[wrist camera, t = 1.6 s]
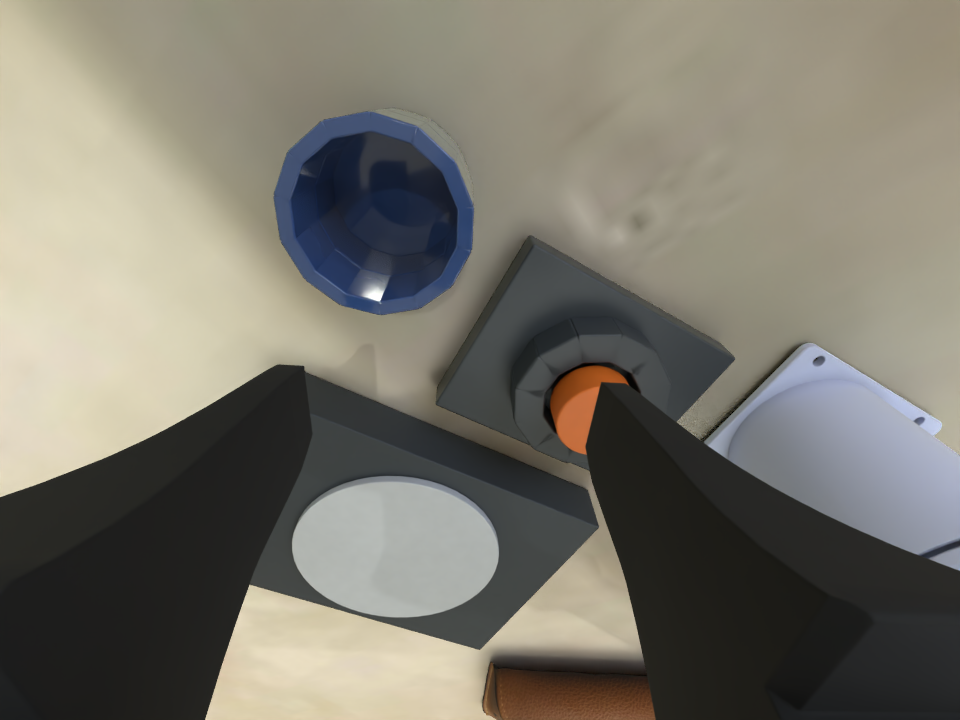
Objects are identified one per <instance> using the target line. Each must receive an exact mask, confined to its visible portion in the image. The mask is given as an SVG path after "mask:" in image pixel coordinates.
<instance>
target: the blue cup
mask: <svg viewBox="0 0 960 720" xmlns="http://www.w3.org/2000/svg"><path fill="white" fill-rule="evenodd" d="M273 198H274V204H275V211H276V217H277V223H278V230H279V236H280V240H281V243H282V245H283V246H284V248H285V249H286V251H287V253H288V254H289V256H290V257H291V259H292V260H293V262H294V264H295V265H296V267H297V268H298V270H299V272H300V273H301V275H302V276H303V278H304V279H305V280H306V281H307V282H309V283H310V284H311V285H313V286H314V287H316V288H317V289H318V290H320V291H321V292H322V293H324V294H325V295H327V296H328V297H329V298H331V299H332V300H334V301H335V302H336V303H338V304H339V305H340V304H341V305H342V306H345V307H349V308H353V309H357V310H361V311H365V312H369V313H373V314H377V315H380V314H381V315H385V314H392V313H398V312H404V311H410V310H416V309H419V308H422V307H423V306H425V305H426V304H428V303H429V302H431V301H432V300H433V299H435V298H436V297H438V296H439V295H441V294H442V293H444V292H445V291H446V290H448V289H449V288H451V286H452V285H453V284H454V282H455V281H456V279H457V277H458V275H459V273H460V272H461V270H462V268H463V266H464V264H465V263H466V261H467V259H468V257H469V255H470V253H471V250H472V241H473V221H474V198H473V183H472V178H471V176H470V173H469V170H468V167H467V164H466V161H465V159H464V157H463V155H462V153H461V150H460V148H459V147H458V145H457V144H456V143H455V142H454V141H453V139H452V138H451V137H450V136H449V135H448V134H447V133H446V132H445V131H444V130H443V129H442V128H441V127H440V126H438V125H437V124H436V123H434V122H433V121H432V120H430V119H429V118H426V117H423V116H421V115H419V114H416V113H413V112H409V111H404V110H401V109H398V108H387V109H380V110H372V111H366V112H361V113H355V114H350V115H345V116H340V117H335V118H329V119H324V120H323V121H320V122H319V123H318V124H317V125H316V126H315V127H314V128H313V129H311V130H310V131H309V132H308V133H307V134H306V135H305V136H304V137H303V138H301V139H300V140H299V141H298V142H297V143H296V144H295V145H294V146H292V147H291V148H290V149H289V151H288V152H287V154H286V157H285V160H284V163H283V166H282V169H281V172H280V175H279V178H278V182H277V185H276V188H275V191H274V197H273Z"/></svg>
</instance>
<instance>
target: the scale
mask: <svg viewBox="0 0 960 720" xmlns="http://www.w3.org/2000/svg"><path fill="white" fill-rule="evenodd" d="M305 378H306V386H307V394H308V402H309V409H310V417H311V425H312V433H313V435H312V438H311V442H310V445H309V448H308V452H307V455H306V458H305V461H304V464H303V467H302V470H301V472H300V474H299V477H298V479H297V481H296V483H295V485H294V487H293V489H292V492H291V494H290V496H289V498H288V500H287V502H286V504H285V506H284V508H283V510H282V512H281V515H280V517H279V519H278V521H277V523H276V525H275V527H274V529H273V531H272V533H271V535H270V537H269V540H268V542H267V544H266V546H265V548H264V550H263V552H262V554H261V557H260V559H259V561H258V564H257V566H256V568H255V571H254V573H253V576H252V579H251V581H250V585H253V586H257V587H260V588H264V589H267V590H271V591H274V592H278V593H281V594H285V595H288V596H292V597H295V598H299V599H302V600H306V601H309V602H313V603H316V604H320V605H323V606H327V607H331V608H334V609H338V610H341V611H345V612H348V613H352V614H355V615H359V616H362V617H366V618H369V619H373V620H376V621H380V622H383V623H387V624H390V625H394V626H397V627H401V628H404V629H408V630H411V631H415V632H418V633H422V634H426V635H429V636H433V637H436V638H440V639H443V640H447V641H450V642H454V643H457V644H461V645H464V646H468V647H471V648H475V649H478V650H480V649H481V648H482V647H483V646H484V645H485V644H486V643H487V642H488V641H489V640H490V639H491V638H492V637H493V636H494V635H495V634H496V633H497V632H498V631H499V630H500V629H501V628H502V627H503V626H504V625H505V624H506V622H507V621H508V620H509V619H510V618H511V617H512V616H513V615H514V614H515V613H516V612H517V611H518V610H519V609H520V608H521V607H522V606H523V605H524V604H525V603H526V602H527V601H528V600H529V599H530V598H531V597H532V596H533V595H534V594H535V593H536V592H537V591H538V590H539V589H540V588H541V587H542V586H543V585H544V583H545V582H546V581H547V580H548V579H549V578H550V577H551V576H552V575H553V574H554V573H555V572H556V571H557V570H558V569H559V568H560V567H561V566H562V565H563V564H564V563H565V562H566V561H567V560H568V559H569V558H570V557H571V556H572V555H573V554H574V553H575V552H576V551H577V550H578V549H579V548H580V547H581V546H582V545H583V543H584V542H585V541H586V540H587V539H588V538H589V537H590V536H591V535H592V534H593V533H594V532H595V531H596V530H597V529H598V528H599V525H598V522H597V519H596V515H595V512H594V509H593V506H592V502H591V499H590V496H589V493H588V490H586V489H584V488H582V487H579V486H577V485H574V484H572V483H570V482H567V481H565V480H562V479H560V478H558V477H555V476H553V475H550V474H548V473H546V472H543V471H541V470H538V469H536V468H534V467H531V466H529V465H526V464H524V463H522V462H519V461H517V460H514V459H512V458H510V457H507V456H505V455H502V454H500V453H498V452H495V451H493V450H490V449H488V448H486V447H483V446H481V445H478V444H476V443H474V442H471V441H469V440H466V439H464V438H462V437H459V436H457V435H454V434H452V433H450V432H447V431H445V430H442V429H440V428H438V427H435V426H433V425H430V424H428V423H426V422H423V421H421V420H418V419H416V418H414V417H411V416H409V415H406V414H404V413H402V412H399V411H397V410H394V409H392V408H390V407H387V406H385V405H382V404H380V403H378V402H375V401H373V400H370V399H368V398H366V397H363V396H361V395H358V394H356V393H354V392H351V391H349V390H346V389H344V388H342V387H339V386H337V385H334V384H332V383H330V382H327V381H325V380H322V379H320V378H318V377H315V376H313V375H310V374H308V373H306V372H305Z"/></svg>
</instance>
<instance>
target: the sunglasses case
mask: <svg viewBox="0 0 960 720" xmlns="http://www.w3.org/2000/svg"><path fill="white" fill-rule="evenodd" d="M482 707H483V711H484V713H486V715H490V716H492V717H493V718H495V719H496V720H656V719H655V714H654V709H653V703H652V698H651V693H650V688H649V682H648V677H647V676H635V675H623V674H601V675H591V674H586V673H577V672H546V671H529V670H514V669H508V668H503V669H498V667H497V665H495V664H493V663H492V662H491V663H490V666H489V670H488V674H487V680H486V685H485V692H484V698H483V704H482Z"/></svg>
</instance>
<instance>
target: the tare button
mask: <svg viewBox="0 0 960 720" xmlns="http://www.w3.org/2000/svg"><path fill="white" fill-rule="evenodd" d="M601 382H610V383H626V384H627V385H629V384H628V382H627V381H626V379H625V378H624V377H623V376H622V375H621V374H620V373H619V372H617V371H615V370H614V369H611V368H608V367H605V366H596V365H593V366H585V367H581V368H578V369H576V370H573V371H572V372H570V373H568V374H567V375H565V376H564V377H563V378H562V379H561V380H560V381H559V382H558V383H557V385H556V386H555V388H554V390H553V392H552V394H551V398H550V408H551V413H552V416H553V420H554V424H555V427H556V431H557V434H558V437H559V438H560V440H561V441H562V442H563V444H565V445H566V446H567V447H568V448H570V449H571V450H573V451H575V452H578V453H581V454H586V455H587V453H586V448H585V446H586V442H587V437H588V433H589V429H590V425H591V421H592V417H593V413H594V409H595V405H596V401H597V397H598V393H599V388H600V384H601Z"/></svg>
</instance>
